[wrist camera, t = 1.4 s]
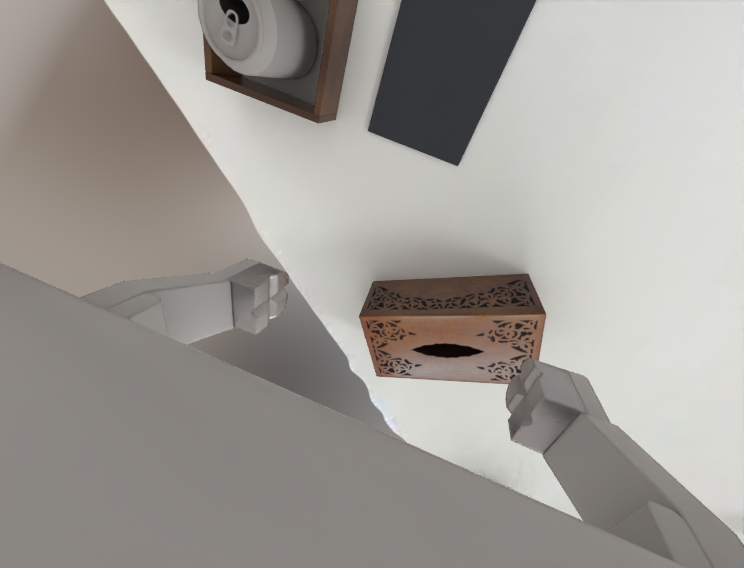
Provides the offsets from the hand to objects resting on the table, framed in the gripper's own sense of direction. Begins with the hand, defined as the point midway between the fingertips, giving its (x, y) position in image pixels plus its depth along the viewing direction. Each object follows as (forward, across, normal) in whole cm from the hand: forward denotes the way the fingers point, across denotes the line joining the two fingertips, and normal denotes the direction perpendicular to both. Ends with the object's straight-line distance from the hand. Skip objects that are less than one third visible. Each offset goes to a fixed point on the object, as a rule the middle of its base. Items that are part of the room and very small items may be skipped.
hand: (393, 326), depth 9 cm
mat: (+33, +6, -14) cm, 36 cm away
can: (+31, +24, -13) cm, 41 cm away
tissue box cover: (+38, -6, +21) cm, 44 cm away
